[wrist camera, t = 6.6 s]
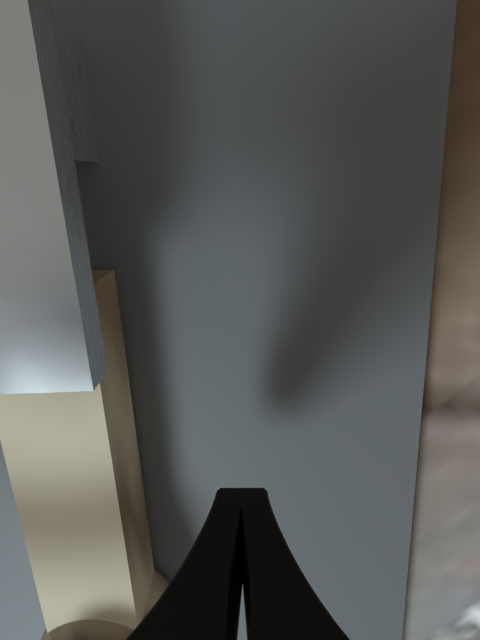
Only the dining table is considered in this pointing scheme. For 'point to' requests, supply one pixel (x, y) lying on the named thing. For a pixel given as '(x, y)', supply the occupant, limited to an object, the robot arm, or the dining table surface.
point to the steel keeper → (44, 207)
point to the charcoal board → (267, 273)
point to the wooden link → (84, 496)
